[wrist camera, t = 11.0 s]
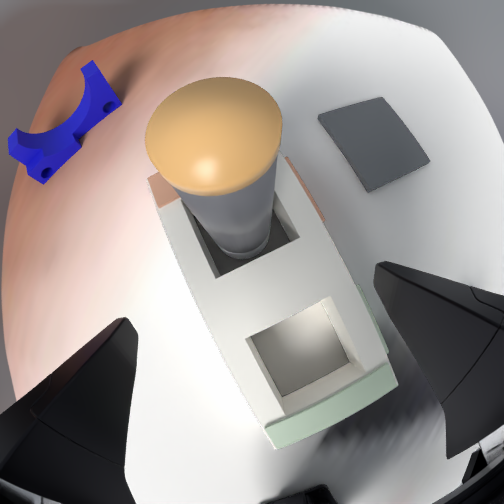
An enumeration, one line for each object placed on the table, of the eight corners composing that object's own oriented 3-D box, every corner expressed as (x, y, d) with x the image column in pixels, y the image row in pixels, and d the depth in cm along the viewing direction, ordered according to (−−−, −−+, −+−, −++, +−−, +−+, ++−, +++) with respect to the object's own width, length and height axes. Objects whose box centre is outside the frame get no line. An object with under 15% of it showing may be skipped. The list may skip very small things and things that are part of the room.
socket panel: (381, 371, 18) (404, 383, 14) (273, 428, 17) (275, 452, 13) (266, 148, 21) (266, 121, 17) (162, 197, 21) (144, 177, 17)
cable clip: (44, 185, 22) (9, 163, 16) (38, 160, 23) (7, 138, 17) (127, 111, 23) (103, 75, 17) (114, 93, 24) (92, 60, 18)
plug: (281, 229, 20) (310, 116, 7) (244, 271, 19) (211, 215, 7) (240, 195, 20) (212, 63, 8) (203, 235, 20) (121, 138, 7)
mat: (427, 163, 21) (430, 161, 20) (368, 192, 20) (370, 189, 20) (380, 100, 22) (382, 96, 21) (317, 118, 22) (318, 114, 21)
